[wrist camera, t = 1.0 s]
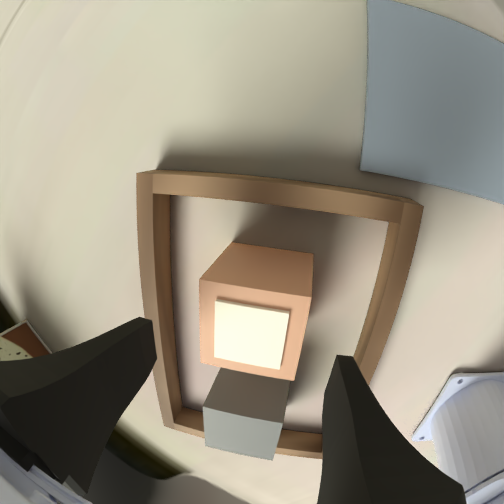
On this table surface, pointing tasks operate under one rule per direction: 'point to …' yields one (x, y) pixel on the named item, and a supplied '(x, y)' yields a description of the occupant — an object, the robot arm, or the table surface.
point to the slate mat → (433, 101)
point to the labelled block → (255, 309)
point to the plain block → (245, 413)
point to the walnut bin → (274, 193)
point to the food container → (21, 343)
